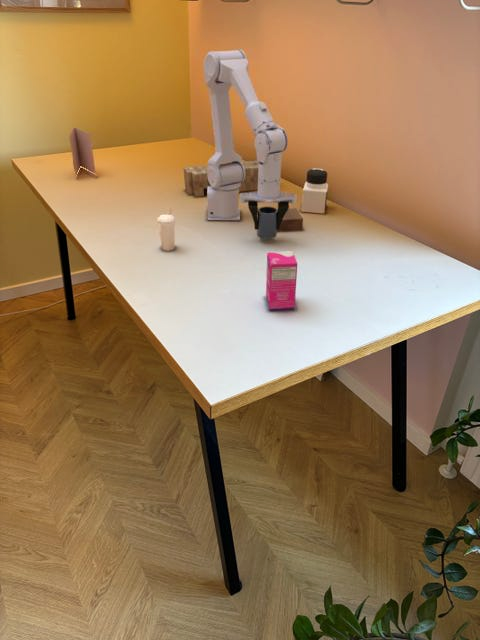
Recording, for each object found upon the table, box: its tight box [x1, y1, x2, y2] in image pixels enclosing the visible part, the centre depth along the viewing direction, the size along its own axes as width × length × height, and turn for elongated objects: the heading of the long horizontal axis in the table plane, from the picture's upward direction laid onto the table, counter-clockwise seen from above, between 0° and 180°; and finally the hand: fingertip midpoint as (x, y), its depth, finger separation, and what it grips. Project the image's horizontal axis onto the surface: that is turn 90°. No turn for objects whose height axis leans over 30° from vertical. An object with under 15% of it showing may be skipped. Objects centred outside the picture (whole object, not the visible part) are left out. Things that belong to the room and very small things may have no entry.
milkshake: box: [156, 207, 176, 252], centre depth 134 cm, size 5×5×10 cm
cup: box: [256, 206, 278, 240], centre depth 138 cm, size 5×5×7 cm
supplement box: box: [265, 250, 298, 312], centre depth 111 cm, size 6×6×12 cm
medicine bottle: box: [300, 168, 329, 215], centre depth 157 cm, size 7×7×12 cm
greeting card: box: [68, 127, 97, 181], centre depth 181 cm, size 11×7×15 cm, turn 6°
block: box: [277, 207, 304, 233], centre depth 149 cm, size 8×8×4 cm
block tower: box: [183, 159, 259, 198], centre depth 172 cm, size 8×8×29 cm
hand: (266, 228), depth 139 cm, fingers closed on cup, 5 cm apart
